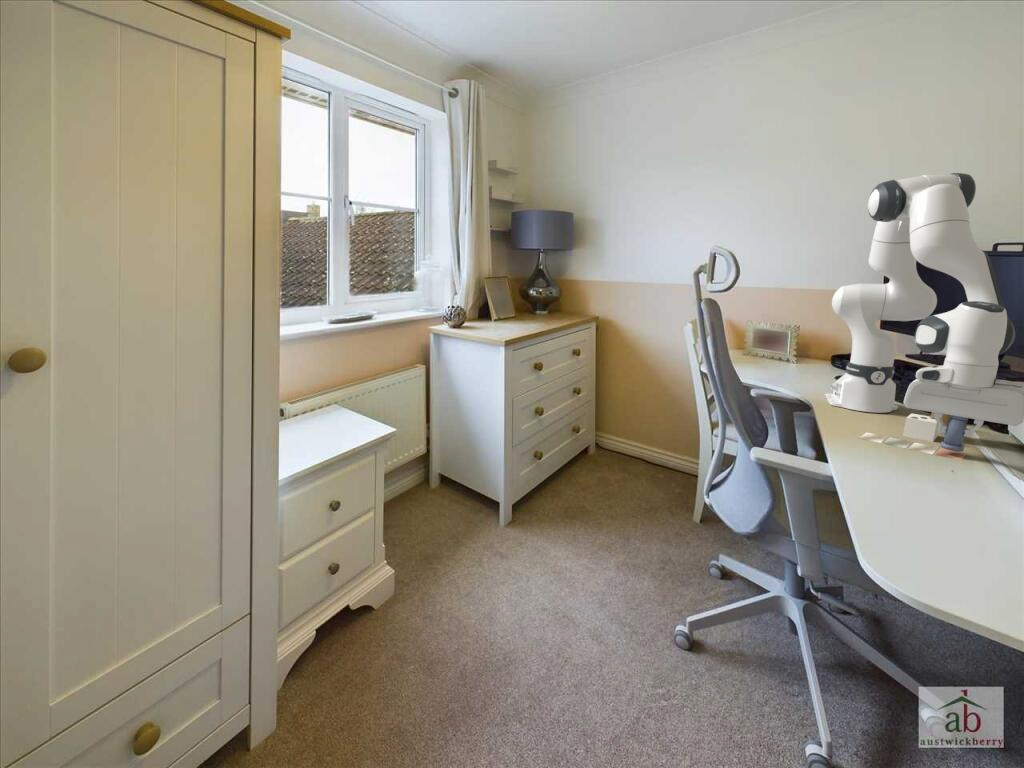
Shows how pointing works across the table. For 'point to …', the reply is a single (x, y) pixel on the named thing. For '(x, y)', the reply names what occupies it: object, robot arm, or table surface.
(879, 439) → the board
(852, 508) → the table surface
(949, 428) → the pawn
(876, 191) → the robot arm
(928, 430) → the die
